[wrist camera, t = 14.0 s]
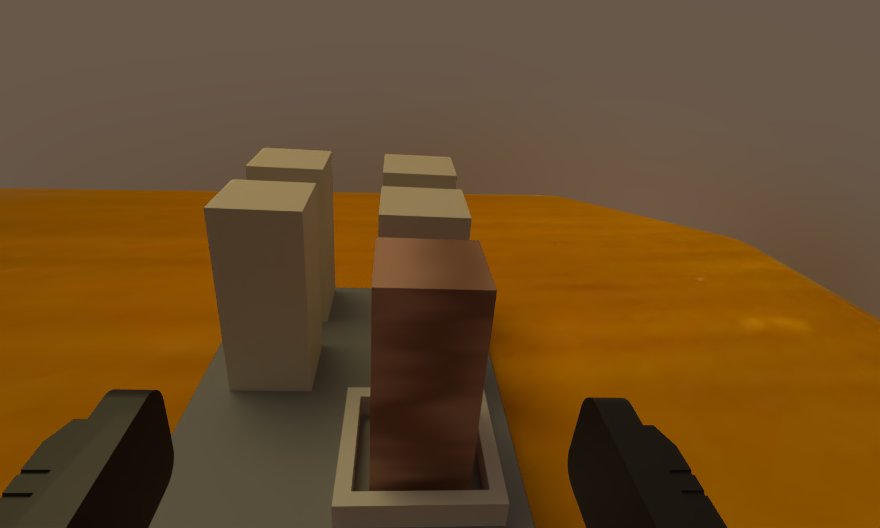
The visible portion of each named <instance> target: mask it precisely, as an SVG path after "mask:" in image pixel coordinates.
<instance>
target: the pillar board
mask: <svg viewBox="0 0 880 528" xmlns="http://www.w3.org/2000/svg"><path fill="white" fill-rule="evenodd" d="M246 176H247V180H237V179H232V180H231V181H230V182H229V183H228V184H227V185H226V186H225V187H224V188H223V189H222V190H221V191H220V192H219V193H218V194H217V195H216V196H215V197H214V198H213V199H212V200H211V201H210V202H209V203H208V204H207V205H206V206H205V207H204V214H205V221H206V228H207V235H208V242H209V249H210V256H211V263H212V270H213V278H214V285H215V292H216V299H217V306H218V313H219V320H220V327H221V334H222V343H221V345H220V347H219V348H218V350H217V352H216V354H215V356H214V358H213V360H212V361H211V363H210V365H209V367H208V369H207V371H206V373H205V374H204V376H203V378H202V380H201V382H200V384H199V386H198V387H197V389H196V391H195V393H194V395H193V397H192V399H191V400H190V402H189V404H188V406H187V408H186V410H185V412H184V413H183V415H182V417H181V419H180V421H179V423H178V424H177V426H176V428H175V430H174V432H173V434H172V436H171V439H172V443H173V449H174V465H173V471H172V475H171V479H170V482H169V484H168V487H167V489H166V491H165V493H164V496H163V498H162V500H161V502H160V504H159V506H158V508H157V511H156V513H155V515H154V517H153V519H152V521H151V523H150V526H149V528H535V527H534V523H533V519H532V515H531V512H530V508H529V504H528V500H527V496H526V492H525V489H524V485H523V481H522V477H521V473H520V469H519V466H518V462H517V458H516V454H515V450H514V447H513V443H512V439H511V435H510V431H509V427H508V424H507V420H506V416H505V412H504V408H503V404H502V401H501V397H500V393H499V389H498V385H497V381H496V378H495V374H494V370H493V366H492V362H491V359H490V355H489V353H488V360H487V368H486V375H485V383H484V390H483V397H482V405H481V412H480V420H479V427H478V435H477V442H476V449H475V457H474V464H473V472H472V479H471V487H470V490H440V491H369V466H370V382H371V298H372V289H371V288H335V265H334V224H333V182H332V151H317V150H316V151H315V150H296V149H277V148H263V149H262V150H261V151H260V152H259V153H258V154H257V155H256V156H255V157H254V158H253V159H252V160H251V161H250V162H249V163H248V164H247V165H246ZM456 180H457V175H456V172H455V169H454V167H453V164H452V161H451V158H450V157H434V156H415V155H414V156H413V155H395V154H385V161H384V170H383V186H382V189H381V198H380V208H379V230H378V237H387V238H417V239H446V240H469V238H470V228H471V215H470V213H469V210H468V207H467V204H466V201H465V198H464V195H463V193H462V190H458V189H456Z"/></svg>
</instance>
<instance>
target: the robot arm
mask: <svg viewBox="0 0 880 528" xmlns="http://www.w3.org/2000/svg"><path fill="white" fill-rule="evenodd" d="M173 465H174V449H173V443H172V439H171V434H170V429H169V424H168V419H167V415H166V410H165V405H164V400H163V396H162V394H161V393H160V392H159V391H158V390H115V389H114V390H111V391H109V392H108V393H107V394H106V395H105V396H104V397H103V399H102V400H101V401H100V403H99V404H98V406H97V407H96V408H95V410H94V411H93V412H92V414H91V415H90V417H89V418H88V419H73V420H72V421H71V422H69V423H68V424H67V425H65V426H64V427H63V428H61V429H60V430H59V431H57V432H56V433H55V434H53V435H52V436H50V437H49V438H48V439H46V440H45V441H44V442H42V444H41V445H40V446H39V448H38V449H37V450H36V451H35V453H34V454H33V455H32V456H31V458H30V459H29V460H28V461H27V463H26V464H25V465H24V466H23V468H22V469H21V473H20V475H16V477H15V478H14V479H13V480H12V482H11V483H10V484H9V485H8V487H7V488H6V489H5V490H4V492H3V493H2V494H3V495H2V498H1V499H0V528H149V526H150V523H151V521H152V519H153V517H154V515H155V513H156V511H157V508H158V506H159V504H160V502H161V500H162V498H163V496H164V493H165V491H166V489H167V487H168V484H169V482H170V479H171V475H172V471H173ZM568 473H569V479H570V483H571V486H572V489H573V492H574V495H575V498H576V500H577V503H578V506H579V509H580V511H581V514H582V517H583V520H584V522H585V525H586V528H727V526H726V525H725V523H724V521H723V520H722V518H721V517H720V515H719V513H718V512H717V510H716V509H715V507H714V506H713V504H712V502H711V501H710V499H709V498H708V496H705V495H704V490H703V488H702V486H701V485H700V483H699V482H698V480H697V478H696V477H695V475H692V474H691V469H690V467H689V466H688V464H687V462H686V461H685V459H684V458H683V456H682V454H681V453H680V451H679V450H678V448H677V446H676V445H675V444H673V443H672V442H671V441H670V440H669V439H668V438H667V437H666V436H665V435H663V434H662V433H661V432H660V431H659V430H658V429H657V428H656V427H655V426H653V425H643V424H642V423H641V421H640V419H639V418H638V416H637V414H636V412H635V411H634V409H633V407H632V405H631V404H630V402H629V401H628V400H626V399H625V398H586V399H585V400H584V401H583V404H582V406H581V410H580V414H579V417H578V421H577V424H576V428H575V431H574V435H573V438H572V442H571V446H570V449H569V454H568Z"/></svg>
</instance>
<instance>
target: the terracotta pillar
mask: <svg viewBox="0 0 880 528" xmlns="http://www.w3.org/2000/svg"><path fill="white" fill-rule="evenodd" d="M496 293H497V289H496V286H495V284H494V281H493V278H492V275H491V273H490V270H489V267H488V264H487V261H486V259H485V256H484V253H483V250H482V247H481V245H480V242H479V241H476V240H446V239H417V238H387V237H376V246H375V256H374V267H373V278H372V298H371V382H370V466H369V491H440V490H470V487H471V479H472V472H473V464H474V457H475V449H476V442H477V435H478V427H479V420H480V412H481V405H482V397H483V390H484V383H485V375H486V368H487V360H488V353H489V345H490V338H491V331H492V323H493V316H494V308H495V301H496Z"/></svg>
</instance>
